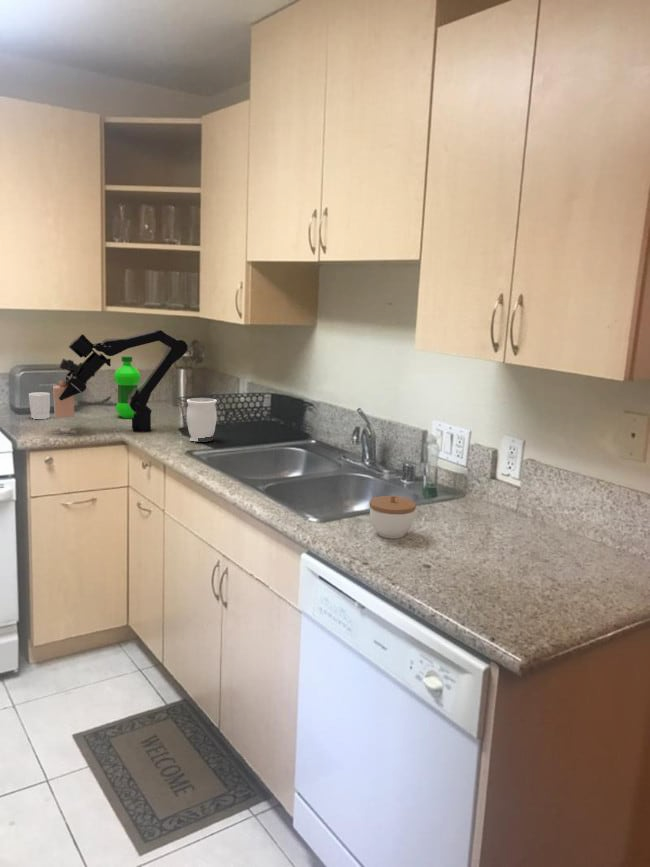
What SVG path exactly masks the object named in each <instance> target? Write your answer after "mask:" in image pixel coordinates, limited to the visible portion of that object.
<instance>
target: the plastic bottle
mask: <svg viewBox="0 0 650 867" xmlns="http://www.w3.org/2000/svg"><path fill="white" fill-rule="evenodd" d="M121 362H122V366H121V367H119V368H118V369H117V370H116V371H115V372H114V374H113V379H114V380H113V381H114V383H115V384H116V385H117V403H116V405H115V411H116V413H117V414H118V415H119V416H120V417H121V418H122V417H123V418H122V419H132V417H134V413H135V412H134V411H133V410H132V409H131V408H130V407H129V405H128V398H129V396H128V395H130V394H131V393H132V391H133V389H134V388H136V389H137V390H138V384H139V383H140V382H141V373H140V371H139V370H138V369H136V368H135V367H134V366H133V365H132V362H133V356H132V355H131V356H128V355H124V356H121Z"/></svg>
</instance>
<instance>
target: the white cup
mask: <svg viewBox="0 0 650 867" xmlns="http://www.w3.org/2000/svg"><path fill="white" fill-rule="evenodd" d="M28 401H29V410H30V417H31V419H32V418H33V419H32V420H35V419H43V420H48V419H49V418H50V412H51V393H50V392H45V391H44V392H41V391H38V392H37V391H35V392H31V393H30V392H29V393H28ZM47 418H48V419H47Z"/></svg>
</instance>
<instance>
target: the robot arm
mask: <svg viewBox="0 0 650 867" xmlns="http://www.w3.org/2000/svg"><path fill="white" fill-rule="evenodd" d="M156 342H160V343H162V344H163V345H165V346H167V348H166V350H165V353H164V356H163V358H161V360H160V362H159V363H158V364H157V365H156V367H155V368H154V369H153V371H152V372H151V373H150V374H149V376H148V377H147V379H146V380H145V382H144V383H143V384H142V386H140V387H138V388H137V389H136V388H134V389H133V391H132V393H131V394H130V395H128V396H129V398H128V405H129V407H130V408H131V409H132V410H133V411H134V412H135V413H134V417H132V418H131V428H132V430H133V432H152V418H151V415H152V412H153V411H152V409H151V408H150V407H149V406H148V405H147V404H148V403H149V399H150V397H151V395H152V393H153V391H155V388H156V387H157V386H158V384H159V383H160V382H161V380H162V379H163V378H164V376H165V375H166V373H168V371H169V370H170V368H171V367H172V365H173V364H174V363H176V362H177V361H178V360H180V359H181V358H182V357H183V356H184V355H185V354H186V353H187V352H188V350H189V348H188V344H187V343H186V341H184V340H183V339H180V338H174V337H172V336H171V335H169V334H167V333H166V332H165V331H163V330H161V329H155V330H153V331H149V332H145V333H141V334H137V335H133V336H127V337H125V338H124V337H122V338H106V339H104V340H102V342H97V343H96V342H95V343H92V342H91V341H90V340H89V339H88V338H87V337H86V335H84V334H83V333H82V334H80V335H79V336H77V338H76V339H74V340H73V341H72V342H70V344H69V345H68V348H69V349H70V350H71V351H72V352H73V353H74V354H76V355H77V356H78V357H79V358H80V359H82V358H84V359H85V360H84V361H83V362H80V363H75V362H74V360H71V359H65V358H62V359H61V362H60V365H59V368H60V369H62V370H66V371H68V372H66V374H65V381H66V385H67V387H66V389H65V390H64V392H63V393H62V394H61V396H60V397H59V399H60V400H64V399H66V398H68V397H71V396H73V395H74V396H75V395H76V396H77V395H78V394H81V393H84V392H85V391H86V389H87V383H88V381H90V379H92V378H93V377H94V376H95V375H96V373H97V372H98V371H99V370H100V369H101V368H102V367H103V366H104V365H105V364H106V365H107V366H108V367H111V366H112V365H111V362H112V361H111V360H112V359H111V358H107V357H106V356H108V357H114V356H116V355H118V354H121V353H123V352H124V351H127V350H128V349H130V348H135V347H139V346H143V345H148V344H151V343H156ZM94 349H95V350H96V351H97V352H100V353H97V352H96V351H95V350H94ZM105 355H106V356H105Z"/></svg>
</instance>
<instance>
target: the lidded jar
mask: <svg viewBox="0 0 650 867" xmlns="http://www.w3.org/2000/svg"><path fill="white" fill-rule="evenodd" d="M416 506H417V504H416V503H415V501H413V500H411V499H410V498H406V497H403V496H396V495H395V494H391V495H382V496H381V495H380V496H376V497H373V498H371V499H370V500H369V518H370V523H371V526H372V527H373V529H374V530H375V531H376V532H377V535H378V536H380V537H381V538H386V539H392V540H393V539H401V538H403V537H404V536H405V535H406V534H407V533H408V532H409V531H410V529H411V528H412V526H413V524H414V520H415V515H416V510H417V509H416Z"/></svg>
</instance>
